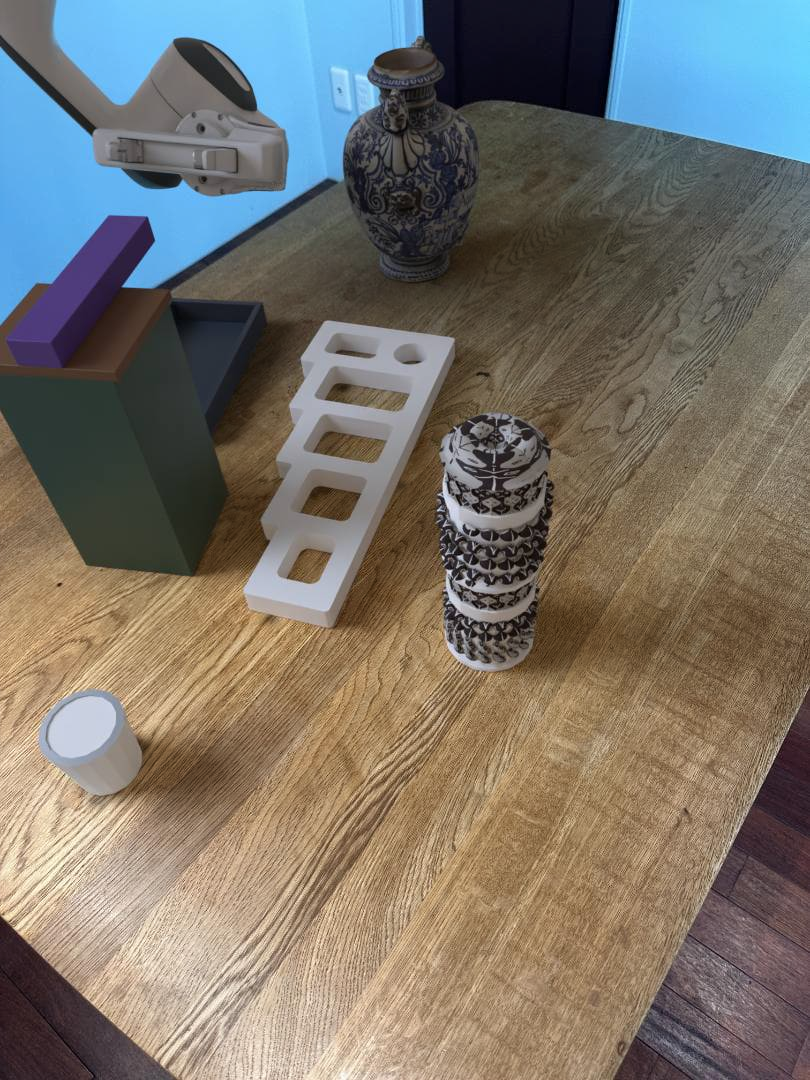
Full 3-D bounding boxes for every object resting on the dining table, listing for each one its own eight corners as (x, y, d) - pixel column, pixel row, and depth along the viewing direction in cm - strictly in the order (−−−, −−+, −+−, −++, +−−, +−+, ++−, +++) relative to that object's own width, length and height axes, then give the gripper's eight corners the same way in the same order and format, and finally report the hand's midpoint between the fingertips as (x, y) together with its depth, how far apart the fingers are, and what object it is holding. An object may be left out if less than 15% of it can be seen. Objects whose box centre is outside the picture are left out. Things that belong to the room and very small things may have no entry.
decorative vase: (468, 307, 113) (469, 92, 92) (339, 300, 116) (311, 90, 95) (485, 230, 127) (489, 27, 106) (370, 226, 130) (351, 28, 109)
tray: (101, 439, 99) (91, 416, 96) (175, 319, 115) (169, 297, 113) (206, 447, 97) (199, 425, 94) (267, 324, 113) (262, 302, 111)
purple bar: (17, 365, 65) (4, 339, 64) (117, 239, 78) (108, 214, 76) (63, 368, 65) (51, 342, 63) (155, 241, 78) (148, 216, 76)
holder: (331, 629, 78) (328, 612, 76) (167, 590, 83) (160, 573, 81) (455, 355, 106) (455, 338, 104) (327, 337, 110) (325, 320, 108)
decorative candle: (558, 632, 77) (588, 431, 58) (493, 694, 73) (502, 499, 54) (486, 580, 81) (492, 378, 62) (421, 635, 77) (406, 438, 58)
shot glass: (140, 801, 68) (113, 764, 63) (60, 804, 68) (26, 767, 63) (156, 727, 72) (132, 686, 67) (81, 730, 73) (50, 689, 67)
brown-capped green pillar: (81, 564, 86) (-33, 362, 66) (126, 484, 93) (36, 282, 74) (197, 577, 84) (115, 372, 64) (233, 494, 91) (169, 288, 72)
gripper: (128, 115, 92) (56, 111, 80) (299, 129, 89) (251, 128, 77) (132, 175, 95) (63, 181, 83) (298, 192, 92) (251, 200, 80)
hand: (155, 155), depth 80 cm, fingers open, 8 cm apart
